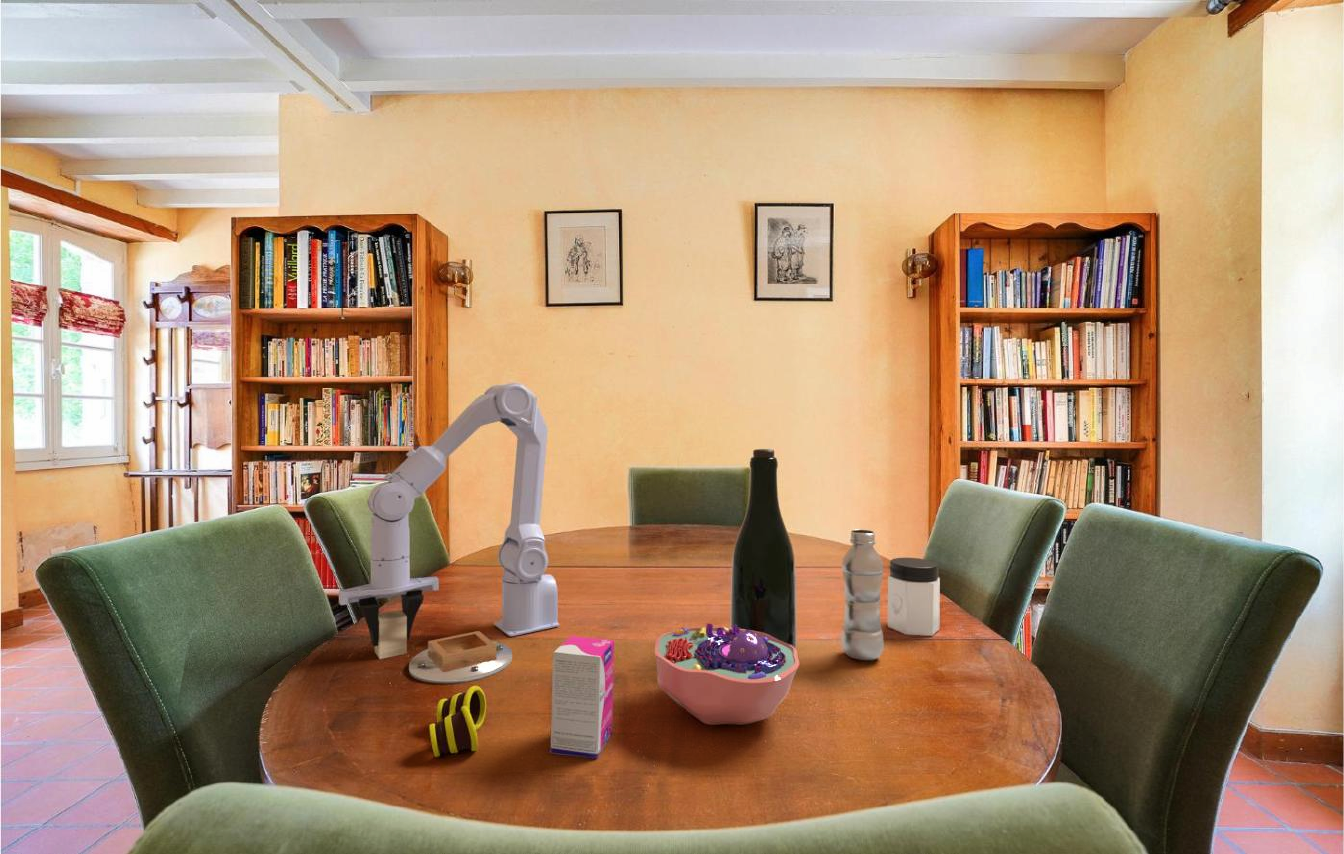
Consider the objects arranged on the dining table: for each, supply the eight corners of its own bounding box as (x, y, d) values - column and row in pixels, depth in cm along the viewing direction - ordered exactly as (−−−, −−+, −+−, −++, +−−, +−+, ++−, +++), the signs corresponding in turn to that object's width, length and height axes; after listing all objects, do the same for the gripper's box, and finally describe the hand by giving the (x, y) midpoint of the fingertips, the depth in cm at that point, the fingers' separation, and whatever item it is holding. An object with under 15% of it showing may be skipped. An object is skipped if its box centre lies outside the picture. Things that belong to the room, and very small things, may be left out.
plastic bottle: (885, 653, 98) (886, 529, 98) (881, 668, 92) (881, 536, 92) (844, 646, 101) (845, 526, 101) (837, 661, 95) (838, 533, 95)
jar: (878, 623, 113) (878, 559, 113) (911, 618, 116) (912, 555, 116) (914, 639, 104) (915, 570, 104) (950, 633, 108) (950, 565, 107)
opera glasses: (446, 727, 76) (438, 689, 76) (489, 715, 77) (481, 677, 77) (431, 771, 66) (422, 727, 66) (480, 757, 67) (471, 714, 67)
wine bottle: (745, 638, 105) (746, 447, 104) (805, 650, 99) (805, 448, 99) (719, 659, 96) (719, 449, 95) (783, 673, 90) (784, 451, 90)
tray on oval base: (492, 638, 104) (492, 621, 104) (527, 666, 92) (527, 647, 92) (398, 658, 96) (398, 639, 96) (423, 692, 83) (423, 671, 83)
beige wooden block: (400, 645, 101) (400, 609, 101) (406, 653, 98) (406, 616, 98) (374, 651, 99) (374, 614, 98) (379, 659, 95) (379, 620, 95)
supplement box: (599, 759, 67) (599, 656, 67) (549, 753, 68) (549, 652, 68) (614, 733, 73) (615, 638, 73) (568, 728, 74) (568, 634, 74)
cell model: (709, 671, 91) (709, 596, 91) (827, 718, 77) (827, 628, 77) (622, 708, 79) (622, 622, 79) (742, 772, 65) (742, 666, 65)
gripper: (430, 547, 106) (430, 625, 106) (335, 558, 97) (336, 643, 97) (442, 554, 100) (442, 637, 100) (342, 566, 91) (342, 657, 91)
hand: (390, 641), depth 98 cm, fingers closed on beige wooden block, 4 cm apart
